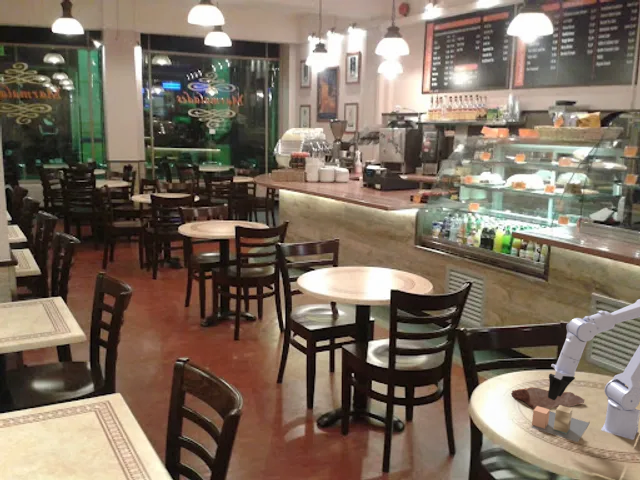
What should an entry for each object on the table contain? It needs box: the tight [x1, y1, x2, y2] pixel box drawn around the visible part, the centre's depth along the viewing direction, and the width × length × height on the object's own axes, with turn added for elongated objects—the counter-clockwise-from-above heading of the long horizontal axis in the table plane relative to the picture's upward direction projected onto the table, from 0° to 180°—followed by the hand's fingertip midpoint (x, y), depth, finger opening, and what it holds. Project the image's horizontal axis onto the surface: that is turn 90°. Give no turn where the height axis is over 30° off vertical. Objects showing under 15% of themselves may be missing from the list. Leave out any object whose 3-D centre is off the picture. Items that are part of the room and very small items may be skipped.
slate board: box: [531, 410, 590, 443], centre depth 200 cm, size 14×16×1 cm
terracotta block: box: [531, 406, 551, 429], centre depth 199 cm, size 4×4×5 cm
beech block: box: [554, 405, 573, 434], centre depth 196 cm, size 4×4×7 cm
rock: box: [510, 386, 586, 410], centre depth 218 cm, size 10×24×10 cm
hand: (554, 396), depth 193 cm, fingers open, 7 cm apart
